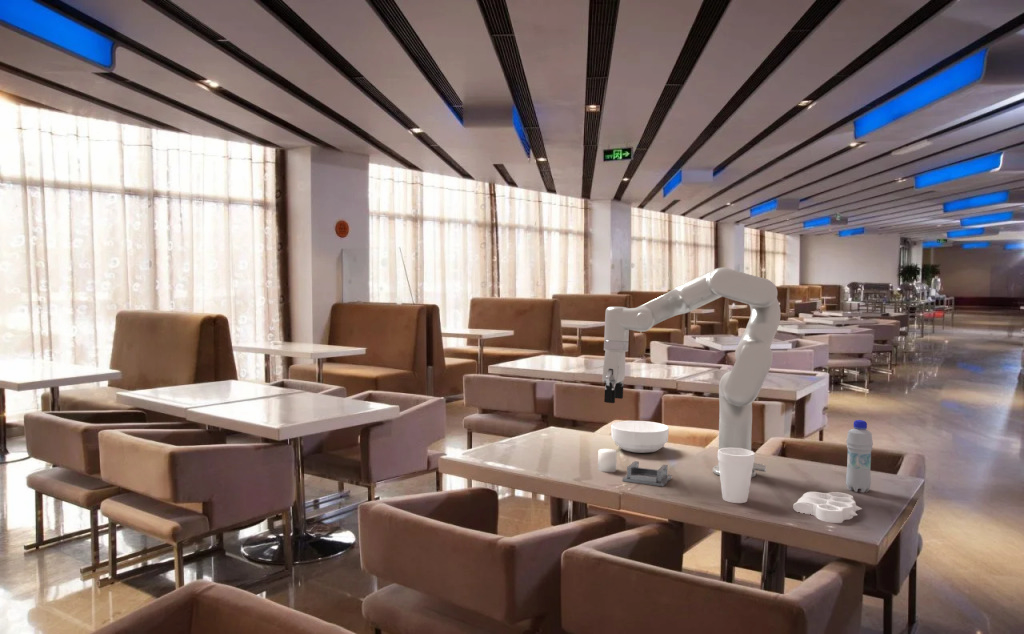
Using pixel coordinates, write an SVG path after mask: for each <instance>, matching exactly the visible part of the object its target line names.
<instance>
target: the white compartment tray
mask: <svg viewBox="0 0 1024 634" xmlns="http://www.w3.org/2000/svg"><path fill="white" fill-rule="evenodd" d="M856 503H857V502H856V500H855V499H854V496H853V495H851V494H849V493H845V492H840V491H830V492H819V491H807V492H805V493H803V494H802V496H801V497H800V498H798V499H797V501H796V502H795V503H793V506H792V509H793V510H794V511H795V512H797V513H798V512H800V513H799V514H803V513H805V514H804V515H810V514H811V516H814V517H815V518H816V519H817V520H818V521H822V522H826V523H831V524H843V523H844V521H845V520H851V519H853V518H854V517H856V516H858V514H857V513H856V512H858V511H860V510H863V508H862V507H860V506H858V505H857V504H856Z"/></svg>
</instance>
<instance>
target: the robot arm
mask: <svg viewBox="0 0 1024 634" xmlns="http://www.w3.org/2000/svg"><path fill="white" fill-rule="evenodd" d="M778 295H779V294H778V289H777V286H776V284H775V283H774V282H773V281H772V280H770V279H768V278H765V277H760V276H757V275H753V274H749V273H746V272H742V271H739V270H736V269H732V268H729V267H723V266H722V267H717V268H714V269H712V270H710V271H708V272H706V273H703V274H702V275H700V276H697V277H695V278H693V279H691V280H689V281H687V282H685V283H683V284H681V285H678V286H677V287H675V288H673V289H671V290H669V291H668V292H667V293H664V294H663V295H662V294H661V295H660V296H658V297H657V298H654V299H651V300H649V301H648V302H646V303H644V304H641V305H639V306H636V307H631V308H630V307H629V308H628V307H625V306H608V307H606V309H605V313H604V314H605V315H604V316H605V317H604V340H603V341H604V342H603V351H605V352H604V359H603V367H602V377H601V378H602V379H601V380H602V382H603V383H604V385H605V386H604V401H603V402H604V403H608V404H615V403H616V399H621V400H622V399H624V380H625V376H626V352H629V341H630V340H629V338H630V337H629V336H630V331H634V332H642V333H643V332H648V331H649V330H650V329H652V327H654V326H656V325H657V324H660V323H662V322H663V321H666V320H668V319H670V318H673V317H675V316H678V315H680V316H681V315H684V314H688V313H691V312H693V311H694V310H697V309H699V308H701V307H703V306H706V305H707V304H709V303H711V302H713V301H716V300H718V299H720V298H726V299H729V300H731V301H736V302H740V303H743V304H746V305H748V306H749V309H750V316H749V318H748V319H749V320H748V322H747V324H746V327H745V330H744V332H743V334H742V336H741V338H740V340H739V342H738V344H737V346H736V348H735V350H734V355H735V362H734V364H733V367H732V369H731V370H729V371H727V372H725V373H724V374H723V375H722V376H721V378H720V381H719V384H718V400H719V409H718V410H719V415H718V416H719V418H718V419H719V420H718V450H719V449H721V448H742V449H747V450H750V451H752V434H753V433H752V432H753V431H752V425H753V402H755V400H756V399H757V397H758V395H759V394H760V391H761V389H762V387H763V385H764V382H765V380H766V378H767V375H768V374H769V372H770V369H771V367H772V364H773V357H774V354H773V351H772V349H771V347H772V344H773V341H774V339H775V336H776V334H777V332H778V331H777V330H778V328H779V327H780V326H779V325H780V322H781V306H780V302H779V300H778ZM755 462H756V461H755ZM755 462H754V463H753V469H752V475H751V478H754V477H756V475H757V471H759V472H763V473H766V471H767V465H765V464H763V463H755ZM712 473H713V474H715V475H718V476H720V471H719V462H718V461H717V464H716V465H715V466H713V467H712Z"/></svg>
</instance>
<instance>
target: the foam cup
mask: <svg viewBox="0 0 1024 634" xmlns="http://www.w3.org/2000/svg"><path fill="white" fill-rule="evenodd" d="M755 454H756V453H755V452H754V451H753V450H751V451H750V450H747V449H742V448H721V449H719V448H718V450H717V458H716V459H717V463H718V462H719V471H720V475H719V479H720V487H721V497H722V499H723V501H725V502H728V503H733V504H743V503H746V502H748V498H749V494H750V493H749V492H750V486H751V481H752V480H751V479H752V477H751V475H752V469H753V463H754V462H756V461H755V459H756V458H755V457H756V455H755Z"/></svg>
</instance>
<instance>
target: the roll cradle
mask: <svg viewBox="0 0 1024 634" xmlns="http://www.w3.org/2000/svg"><path fill="white" fill-rule="evenodd" d="M639 462H640V461H638V460H637V461H636V460H634V461H633V462H632V463H630V465H628V466H626V467H627V468H626V470H627V471H626V475H625V476H623V477H622V482H625V483H626V482H627V483H633V484H641V485H650V486H657V487H665V486H666V484H667V483H669V482H670V480H671V479H672V474H668V468H669V467H668V464H662V465H661V466H660V468H659V469H655V468H647V467H640V466H639Z"/></svg>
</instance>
